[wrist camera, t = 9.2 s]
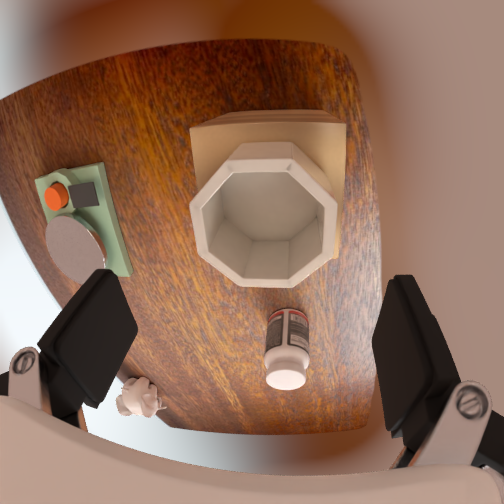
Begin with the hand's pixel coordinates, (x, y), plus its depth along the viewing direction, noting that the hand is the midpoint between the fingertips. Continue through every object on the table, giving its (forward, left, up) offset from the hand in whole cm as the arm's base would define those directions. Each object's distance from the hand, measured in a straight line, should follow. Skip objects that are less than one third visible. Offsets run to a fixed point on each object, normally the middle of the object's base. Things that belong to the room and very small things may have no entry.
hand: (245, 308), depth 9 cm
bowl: (0, 0, -10) cm, 10 cm away
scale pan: (+8, -26, -19) cm, 33 cm away
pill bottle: (+23, +1, -22) cm, 31 cm away
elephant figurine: (+48, -30, -22) cm, 60 cm away
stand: (0, 0, -22) cm, 22 cm away
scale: (+7, -27, -22) cm, 35 cm away
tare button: (+1, -27, -19) cm, 33 cm away
